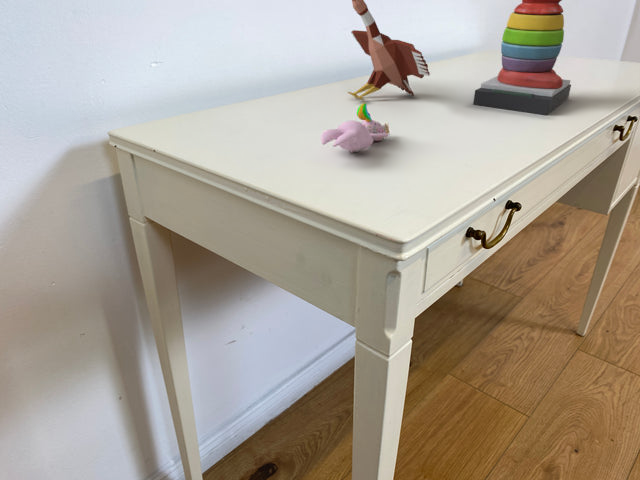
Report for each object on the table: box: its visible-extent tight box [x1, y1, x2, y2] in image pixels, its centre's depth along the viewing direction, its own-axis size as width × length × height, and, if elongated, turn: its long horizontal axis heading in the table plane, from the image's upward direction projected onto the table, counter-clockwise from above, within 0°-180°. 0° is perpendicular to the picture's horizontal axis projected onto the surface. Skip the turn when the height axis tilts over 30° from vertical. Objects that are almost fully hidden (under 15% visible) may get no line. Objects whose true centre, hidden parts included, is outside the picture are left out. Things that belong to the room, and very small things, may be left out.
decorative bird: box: [347, 0, 431, 101], centre depth 86 cm, size 28×18×15 cm, turn 18°
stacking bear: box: [496, 0, 565, 89], centre depth 82 cm, size 11×10×18 cm
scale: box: [472, 75, 572, 116], centre depth 86 cm, size 14×12×3 cm
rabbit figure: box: [320, 102, 391, 153], centre depth 63 cm, size 6×6×15 cm
